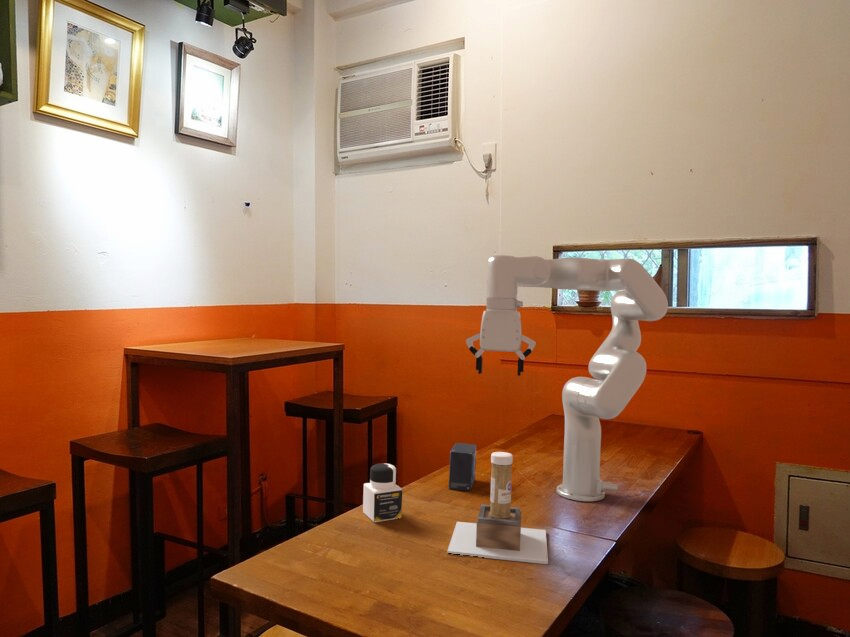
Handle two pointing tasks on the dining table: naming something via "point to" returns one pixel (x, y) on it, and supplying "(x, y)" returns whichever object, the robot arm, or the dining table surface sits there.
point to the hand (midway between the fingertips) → (499, 374)
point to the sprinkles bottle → (500, 485)
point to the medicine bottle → (382, 494)
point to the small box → (462, 466)
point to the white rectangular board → (530, 549)
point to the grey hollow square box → (498, 530)
